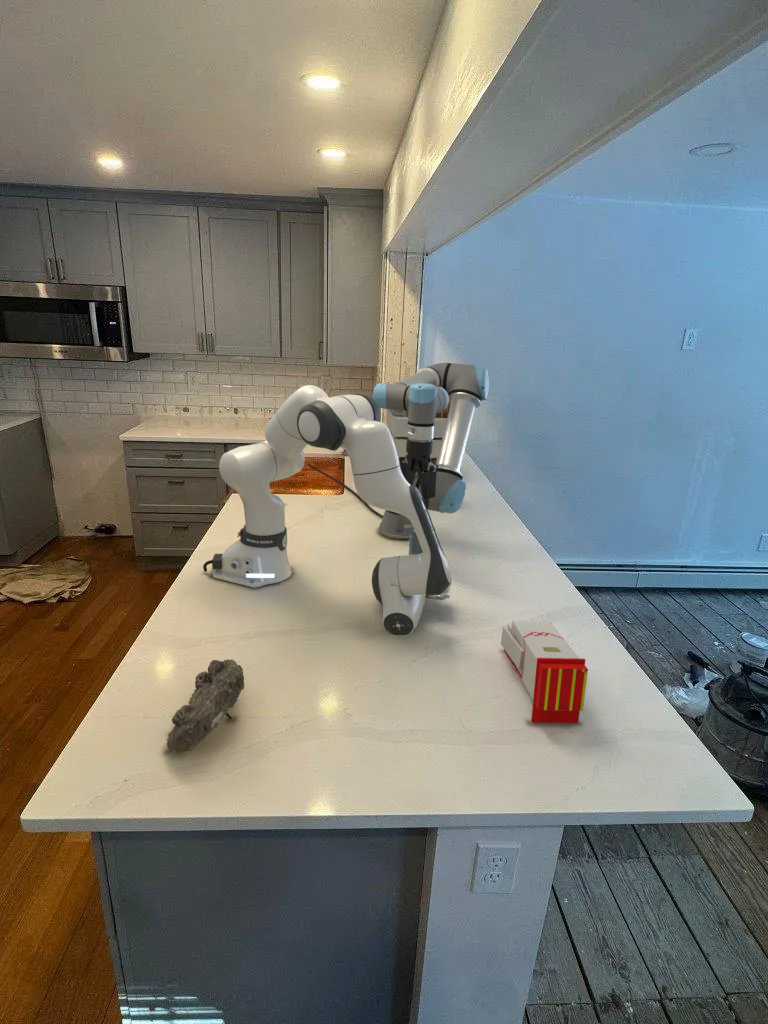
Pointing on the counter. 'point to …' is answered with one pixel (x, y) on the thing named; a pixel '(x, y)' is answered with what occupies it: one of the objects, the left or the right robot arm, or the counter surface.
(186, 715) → the fossil
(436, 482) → the right robot arm
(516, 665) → the toy
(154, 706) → the counter surface
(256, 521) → the left robot arm
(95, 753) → the counter surface
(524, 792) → the counter surface
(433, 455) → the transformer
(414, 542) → the grey cylinder
